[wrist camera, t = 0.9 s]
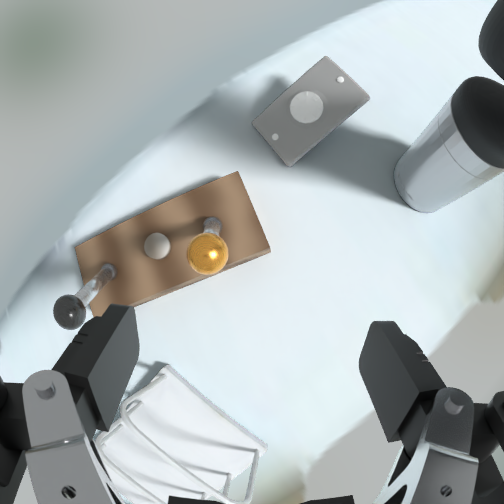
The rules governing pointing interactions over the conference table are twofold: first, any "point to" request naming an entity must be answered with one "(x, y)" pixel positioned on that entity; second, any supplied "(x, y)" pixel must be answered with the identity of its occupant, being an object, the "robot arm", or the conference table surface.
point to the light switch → (309, 110)
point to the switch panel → (171, 243)
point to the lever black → (82, 299)
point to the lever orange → (208, 248)
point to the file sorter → (176, 445)
